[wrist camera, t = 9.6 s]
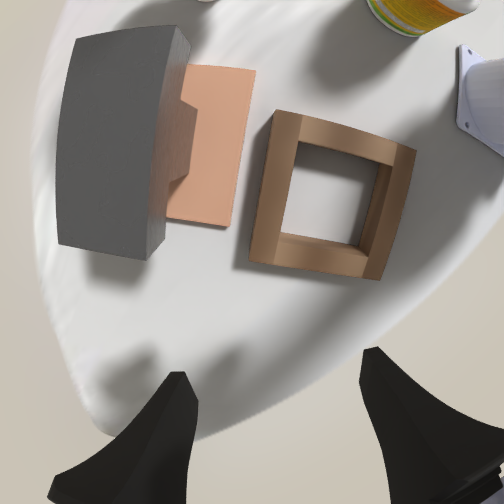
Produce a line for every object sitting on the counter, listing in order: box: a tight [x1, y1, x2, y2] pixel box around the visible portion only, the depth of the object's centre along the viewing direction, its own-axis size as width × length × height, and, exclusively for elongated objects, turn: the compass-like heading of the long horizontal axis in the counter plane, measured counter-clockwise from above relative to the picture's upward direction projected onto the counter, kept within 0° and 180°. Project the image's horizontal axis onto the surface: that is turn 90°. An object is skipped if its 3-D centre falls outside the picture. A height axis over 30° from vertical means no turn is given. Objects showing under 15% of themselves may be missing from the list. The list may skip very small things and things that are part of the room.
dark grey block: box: [56, 25, 198, 261], centre depth 12 cm, size 9×4×8 cm, turn 171°
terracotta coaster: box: [166, 64, 256, 227], centre depth 16 cm, size 10×10×1 cm
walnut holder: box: [249, 109, 417, 281], centre depth 16 cm, size 9×9×2 cm
